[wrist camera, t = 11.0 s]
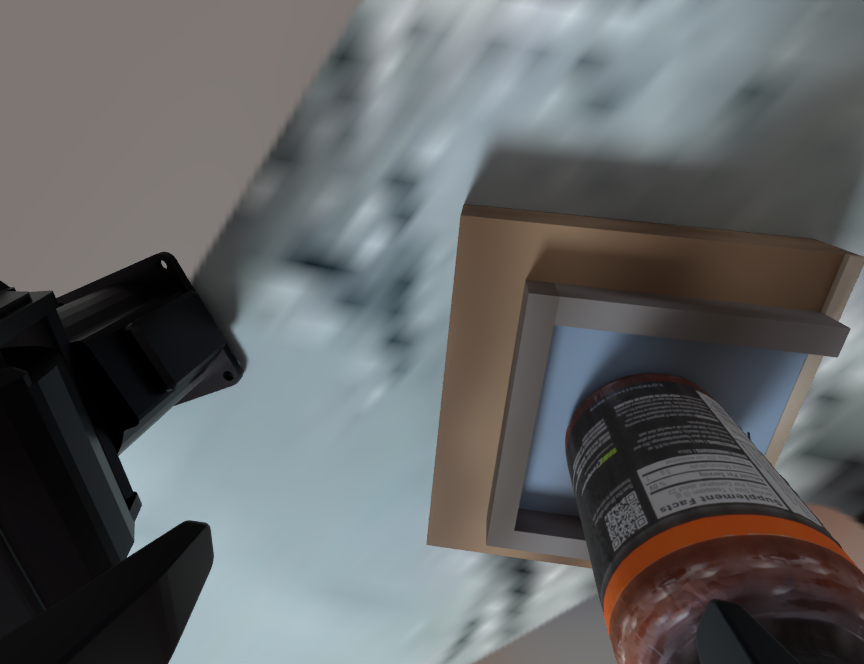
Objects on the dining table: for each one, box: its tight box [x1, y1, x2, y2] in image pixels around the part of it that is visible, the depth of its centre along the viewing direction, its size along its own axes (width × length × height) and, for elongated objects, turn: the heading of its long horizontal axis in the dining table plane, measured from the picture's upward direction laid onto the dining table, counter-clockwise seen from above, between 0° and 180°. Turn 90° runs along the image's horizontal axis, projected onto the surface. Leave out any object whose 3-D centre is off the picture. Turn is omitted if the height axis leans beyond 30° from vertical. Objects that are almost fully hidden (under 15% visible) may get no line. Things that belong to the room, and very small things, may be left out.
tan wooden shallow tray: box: [426, 204, 864, 568], centre depth 20 cm, size 13×15×4 cm
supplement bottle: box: [565, 373, 864, 664], centre depth 14 cm, size 6×6×11 cm
